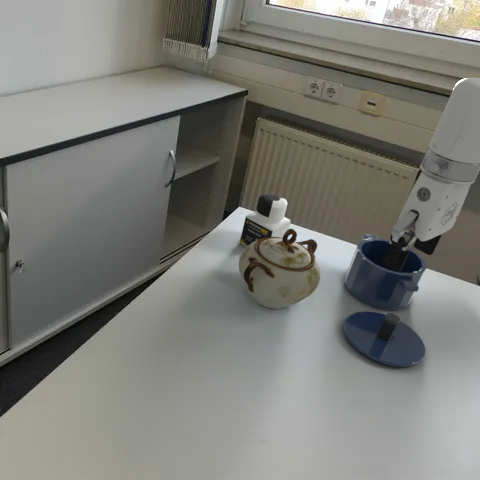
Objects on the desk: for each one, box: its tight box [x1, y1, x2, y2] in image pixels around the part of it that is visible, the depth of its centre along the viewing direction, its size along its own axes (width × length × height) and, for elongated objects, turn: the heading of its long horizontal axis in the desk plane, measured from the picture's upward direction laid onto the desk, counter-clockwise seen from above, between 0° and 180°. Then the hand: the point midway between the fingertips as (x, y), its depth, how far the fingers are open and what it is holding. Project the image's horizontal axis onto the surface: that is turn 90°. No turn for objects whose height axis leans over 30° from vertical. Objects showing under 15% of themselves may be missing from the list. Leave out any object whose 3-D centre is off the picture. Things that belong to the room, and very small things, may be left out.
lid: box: [343, 310, 426, 368], centre depth 95 cm, size 14×14×6 cm
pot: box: [344, 233, 428, 311], centre depth 108 cm, size 13×18×8 cm
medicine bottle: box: [239, 193, 292, 247], centre depth 117 cm, size 7×7×12 cm
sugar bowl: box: [238, 228, 321, 310], centre depth 101 cm, size 20×15×15 cm
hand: (407, 258), depth 90 cm, fingers open, 9 cm apart
